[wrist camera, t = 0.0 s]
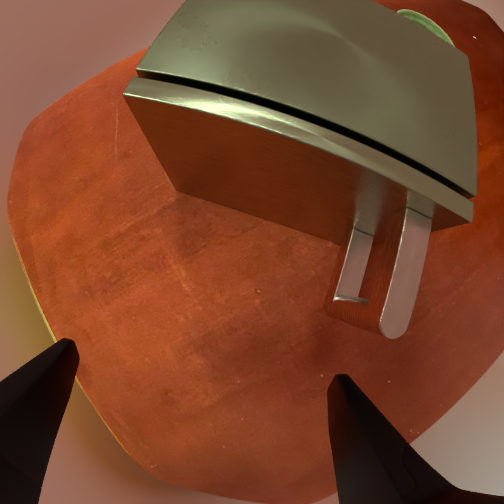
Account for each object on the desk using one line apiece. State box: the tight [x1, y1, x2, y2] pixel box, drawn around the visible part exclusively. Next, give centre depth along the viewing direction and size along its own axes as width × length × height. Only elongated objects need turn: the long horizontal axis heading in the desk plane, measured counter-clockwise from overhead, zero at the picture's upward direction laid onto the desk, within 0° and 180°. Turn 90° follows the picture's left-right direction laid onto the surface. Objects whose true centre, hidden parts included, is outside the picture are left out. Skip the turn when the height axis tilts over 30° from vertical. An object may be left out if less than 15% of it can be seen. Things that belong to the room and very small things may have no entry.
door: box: [123, 77, 474, 339], centre depth 17 cm, size 7×16×14 cm, turn 72°
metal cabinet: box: [136, 0, 477, 199], centre depth 18 cm, size 10×16×15 cm, turn 72°
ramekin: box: [397, 9, 454, 46], centre depth 26 cm, size 9×9×4 cm
